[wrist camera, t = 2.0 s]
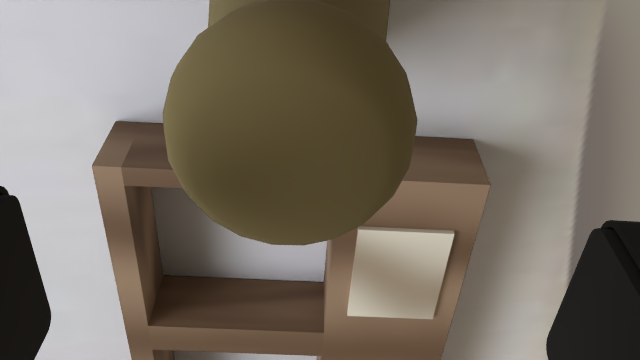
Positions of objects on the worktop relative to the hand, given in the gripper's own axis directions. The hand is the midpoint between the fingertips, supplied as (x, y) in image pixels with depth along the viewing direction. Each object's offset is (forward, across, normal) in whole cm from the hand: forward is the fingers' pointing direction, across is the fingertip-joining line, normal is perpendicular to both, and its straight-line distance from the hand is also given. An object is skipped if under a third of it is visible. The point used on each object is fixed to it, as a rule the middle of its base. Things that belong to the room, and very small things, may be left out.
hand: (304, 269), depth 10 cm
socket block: (+13, +1, +14) cm, 19 cm away
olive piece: (+13, +1, -1) cm, 13 cm away
